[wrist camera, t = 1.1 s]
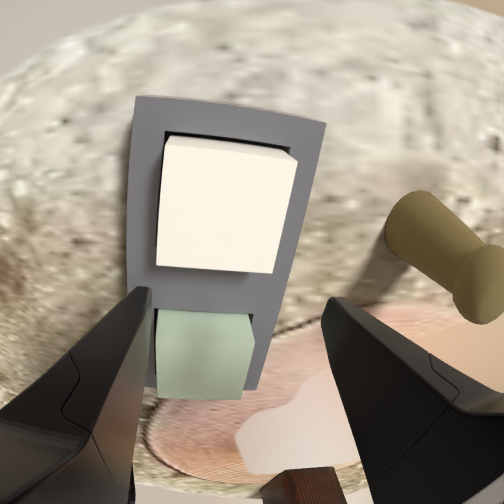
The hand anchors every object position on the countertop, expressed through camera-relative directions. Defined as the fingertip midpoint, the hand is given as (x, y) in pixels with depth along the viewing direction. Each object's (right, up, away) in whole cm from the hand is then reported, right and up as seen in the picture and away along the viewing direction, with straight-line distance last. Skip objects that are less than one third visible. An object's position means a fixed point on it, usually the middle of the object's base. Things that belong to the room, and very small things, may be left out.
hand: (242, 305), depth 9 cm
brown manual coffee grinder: (+10, -40, +39) cm, 56 cm away
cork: (+14, +4, +16) cm, 21 cm away
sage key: (-4, -5, +14) cm, 15 cm away
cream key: (-2, +5, +9) cm, 10 cm away
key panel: (-3, +1, +14) cm, 14 cm away
